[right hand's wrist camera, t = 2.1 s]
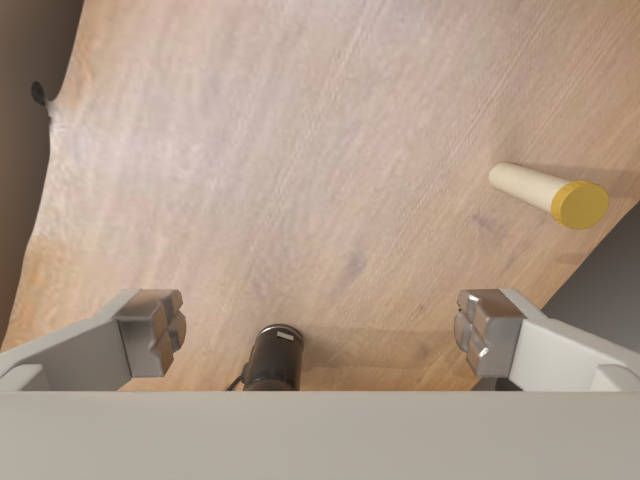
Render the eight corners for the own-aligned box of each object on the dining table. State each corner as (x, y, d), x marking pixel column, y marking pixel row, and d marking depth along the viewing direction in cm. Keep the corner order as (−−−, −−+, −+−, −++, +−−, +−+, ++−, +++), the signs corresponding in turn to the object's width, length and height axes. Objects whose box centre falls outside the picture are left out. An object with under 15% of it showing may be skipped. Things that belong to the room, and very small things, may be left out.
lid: (605, 204, 41) (618, 209, 39) (563, 233, 42) (573, 239, 41) (584, 170, 39) (596, 173, 38) (541, 201, 41) (550, 205, 39)
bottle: (521, 176, 57) (609, 207, 40) (497, 195, 58) (572, 232, 41) (507, 155, 56) (591, 178, 38) (483, 174, 57) (553, 204, 40)
